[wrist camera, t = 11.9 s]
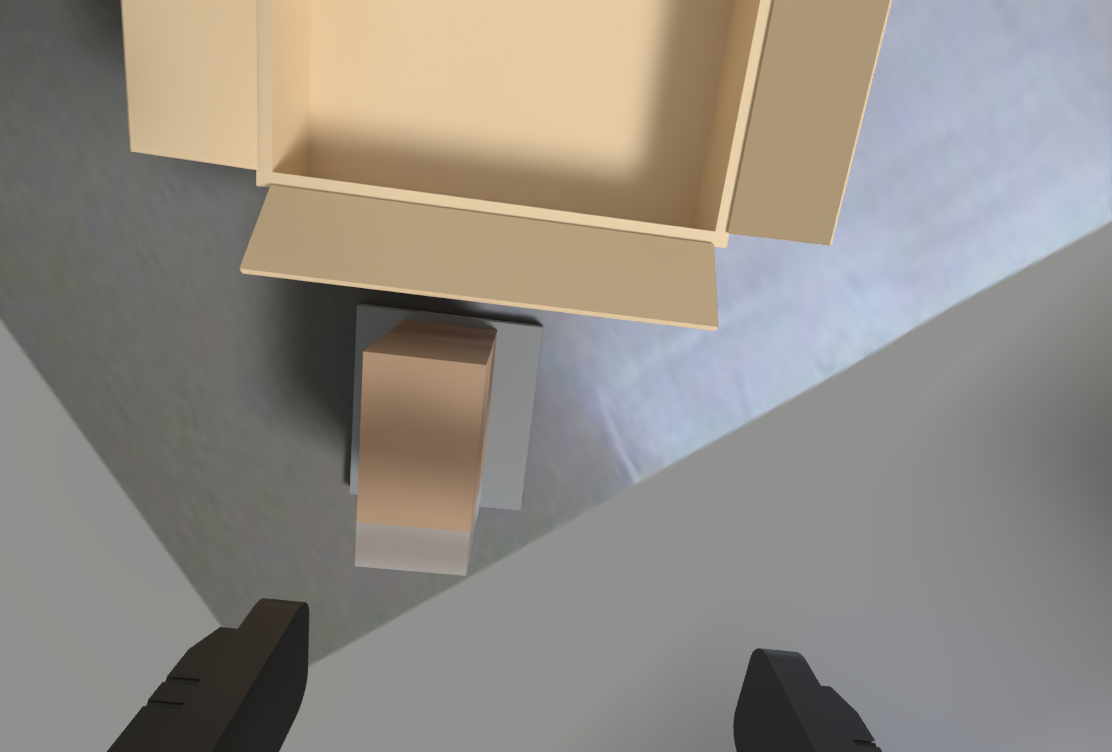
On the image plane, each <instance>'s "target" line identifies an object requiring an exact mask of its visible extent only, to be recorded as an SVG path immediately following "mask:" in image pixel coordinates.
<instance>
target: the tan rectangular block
mask: <svg viewBox="0 0 1112 752" xmlns="http://www.w3.org/2000/svg"><path fill="white" fill-rule="evenodd" d="M496 340H497V330H491V329H483V328H474V327H466V326H457V325H448V324H440V323H431V322H422V321H414V320H403V321H402V322H401V323H399V324H398V325H397V326H396V327H394V328H393V329H392V330H390V331H389V332H388V333H387V334H385V335H384V336H383V337H381V338H380V339H379V340H377V341H376V342H375V343H374V344H372V345H371V346H370V347H368V348H367V349H366V350H365V351H363V371H362V396H361V422H360V448H359V473H358V499H357V525H356V550H355V566H359V567H371V568H383V569H394V570H406V571H418V572H430V573H441V574H453V575H465V576H466V572H467V567H468V562H469V556H470V551H471V546H472V540H473V535H474V530H475V524H476V519H477V514H478V508H479V503H480V498H481V489H482V479H483V469H484V459H485V449H486V439H487V429H488V419H489V409H490V399H491V389H492V379H493V370H494V360H495V350H496Z"/></svg>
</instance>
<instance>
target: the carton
mask: <svg viewBox="0 0 1112 752" xmlns="http://www.w3.org/2000/svg"><path fill="white" fill-rule="evenodd" d="M891 3H892V0H121V14H122V30H123V47H124V63H125V80H126V96H127V112H128V129H129V145H130V151H131V152H138V153H145V154H151V155H158V156H165V157H172V158H179V159H185V160H192V161H199V162H206V163H212V164H219V165H226V166H233V167H240V168H246V169H253V170H256V186H262V187H269V191H268V194H267V196H266V199H265V202H264V204H263V207H262V210H261V212H260V215H259V218H258V220H257V223H256V226H255V228H254V231H253V234H252V236H251V239H250V242H249V245H248V247H247V250H246V253H245V255H244V258H243V261H242V263H241V266H240V270H241V272H242V273H244V274H252V275H260V276H269V277H277V278H285V279H293V280H302V281H310V282H318V283H326V284H335V285H343V286H351V287H359V288H367V289H376V290H384V291H392V292H400V293H409V294H417V295H425V296H433V297H441V298H450V299H458V300H466V301H474V302H483V303H491V304H499V305H507V306H516V307H524V308H532V309H540V310H548V311H557V312H565V313H573V314H581V315H590V316H598V317H606V318H614V319H622V320H631V321H639V322H647V323H655V324H664V325H672V326H680V327H688V328H697V329H705V330H713V331H716V330H717V328H718V309H717V291H716V273H715V255H714V246H715V247H722V248H726V247H727V242H728V238H729V233H730V234H738V235H746V236H754V237H763V238H771V239H780V240H788V241H796V242H805V243H813V244H821V245H830V246H832V242H833V237H834V233H835V229H836V225H837V221H838V217H839V213H840V209H841V205H842V201H843V197H844V193H845V189H846V185H847V181H848V177H849V173H850V169H851V165H852V161H853V157H854V152H855V148H856V144H857V140H858V136H859V132H860V128H861V124H862V120H863V116H864V112H865V108H866V104H867V100H868V96H869V92H870V88H871V84H872V80H873V76H874V71H875V67H876V63H877V59H878V55H879V51H880V47H881V43H882V39H883V35H884V31H885V27H886V23H887V19H888V15H889V11H890V7H891Z"/></svg>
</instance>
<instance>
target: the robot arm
mask: <svg viewBox="0 0 1112 752" xmlns="http://www.w3.org/2000/svg"><path fill="white" fill-rule="evenodd" d="M308 647H309V606H308V604H307V603H306V602H297V601H287V600H277V599H266V598H262V599H260V600H259V601H258V602H257V603H256V604H255V606H254V607H253V608H252V610H251V611H250V613H249V614H248V615H247V617H246V618H245V620H244V621H243V622H242V624H241V625H240V626H239V628H238V629H234V628H223V627H220V628H218V629H217V630H215V631H214V632H213V633H211V634H210V635H208V636H207V637H205V638H204V639H203V640H201V641H200V642H198V643H197V644H196V645H194V646H193V647H191V648H190V649H189V650H188V651H187V652H186V653H185V655H184V656H183V657H182V658H181V660H180V661H179V662H178V663H177V665H176V666H175V667H174V668H173V670H172V671H171V672H170V673H169V675H168V676H167V679H166V681H165V682H162V683H161V685H160V686H159V687H158V688H157V690H156V691H155V692H154V693H153V695H152V696H151V697H150V698H149V700H148V703H147V705H146V706H143V707H142V708H141V710H140V711H139V712H138V713H137V715H136V716H135V717H134V718H133V720H132V721H131V722H130V723H129V725H128V726H127V727H126V728H125V730H124V731H123V732H122V733H121V735H120V736H119V737H118V738H117V740H116V741H115V742H114V743H113V745H112V746H111V747H110V748H109V750H108V751H107V752H279V751H280V749H281V746H282V745H283V743H284V740H285V738H286V736H287V734H288V732H289V730H290V728H291V726H292V724H293V722H294V720H295V718H296V715H297V713H298V711H299V708H300V705H301V703H302V700H303V696H304V692H305V688H306V683H307V676H308ZM733 725H734V726H733V728H734V741H735V746H736V750H737V752H882V751H881V749H880V748H879V747H876V744H875V742H876V741H875V740H874V738H873V737H872V735H871V733H870V732H869V730H868V729H867V727H866V725H865V724H864V722H863V721H862V719H861V717H860V716H859V714H858V713H857V712H856V711H855V710H854V709H853V708H852V707H851V706H850V705H849V704H848V703H847V702H846V701H845V700H844V699H843V698H842V697H841V696H839V694H838V693H837V692H836V691H835V690H834V689H832V688H831V687H829V686H821V685H820V684H819V682H818V680H817V679H816V677H815V675H814V673H813V672H812V670H811V668H810V667H809V665H808V663H807V662H806V660H805V658H804V657H803V656H802V655H801V654H800V653H798V652H790V651H780V650H770V649H760V648H759V649H756V650H754V651H753V653H752V655H751V658H750V661H749V665H748V668H747V672H746V675H745V679H744V682H743V686H742V689H741V693H740V696H739V700H738V703H737V707H736V711H735V715H734V724H733Z"/></svg>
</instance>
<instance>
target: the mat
mask: <svg viewBox="0 0 1112 752" xmlns="http://www.w3.org/2000/svg"><path fill="white" fill-rule="evenodd" d="M403 320H414V321H422V322H431V323H440V324H448V325H457V326H466V327H474V328H483V329H491V330H497V340H496V350H495V360H494V370H493V379H492V389H491V399H490V409H489V419H488V429H487V439H486V449H485V459H484V469H483V479H482V489H481V498H480V503H479V507H490V508H500V509H511V510H521V502H522V494H523V486H524V478H525V470H526V462H527V454H528V446H529V437H530V429H531V421H532V413H533V405H534V397H535V389H536V381H537V373H538V365H539V357H540V349H541V340H542V332H543V325H535V324H527V323H518V322H510V321H502V320H493V319H485V318H477V317H468V316H460V315H451V314H443V313H435V312H426V311H418V310H410V309H401V308H393V307H385V306H376V305H368V304H359V305H357V314H356V341H355V367H354V393H353V420H352V446H351V473H350V494H354V495H358V473H359V448H360V422H361V396H362V371H363V351H365V350H366V349H367V348H368V347H370V346H371V345H372V344H374V343H375V342H376V341H377V340H379V339H380V338H381V337H383V336H384V335H385V334H387V333H388V332H389V331H390V330H392V329H393V328H394V327H396V326H397V325H398V324H399V323H401V322H402V321H403Z"/></svg>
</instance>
